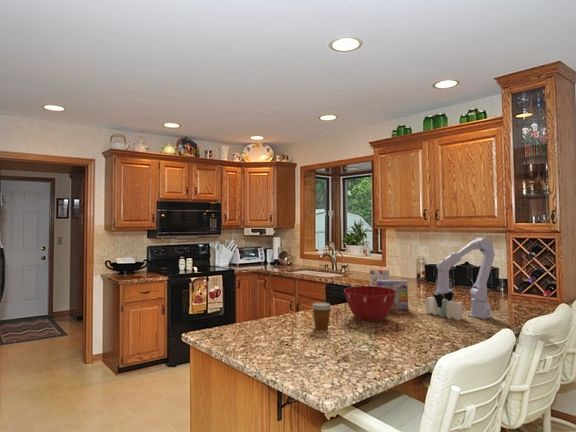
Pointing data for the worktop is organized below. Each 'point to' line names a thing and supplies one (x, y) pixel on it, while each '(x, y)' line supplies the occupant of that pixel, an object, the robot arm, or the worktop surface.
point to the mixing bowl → (370, 301)
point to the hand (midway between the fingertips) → (443, 306)
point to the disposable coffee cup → (321, 315)
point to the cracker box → (378, 275)
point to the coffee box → (449, 286)
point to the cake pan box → (401, 290)
